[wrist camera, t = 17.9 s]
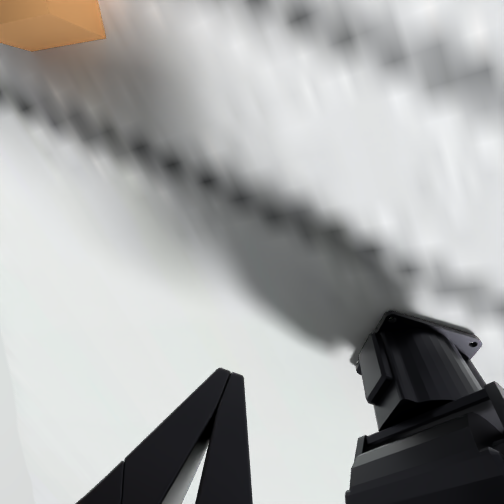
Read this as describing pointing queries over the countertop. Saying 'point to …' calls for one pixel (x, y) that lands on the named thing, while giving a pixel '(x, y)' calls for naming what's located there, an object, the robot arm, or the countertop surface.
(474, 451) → the robot arm
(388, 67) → the countertop surface
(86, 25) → the orange-brown rectangular block
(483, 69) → the countertop surface
